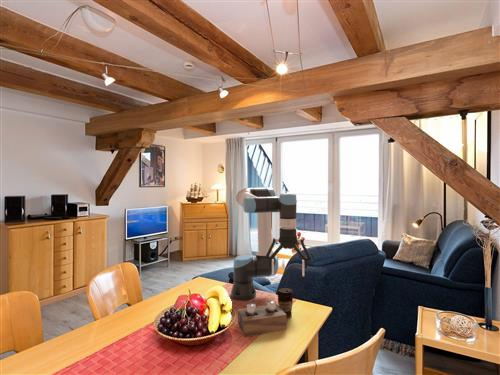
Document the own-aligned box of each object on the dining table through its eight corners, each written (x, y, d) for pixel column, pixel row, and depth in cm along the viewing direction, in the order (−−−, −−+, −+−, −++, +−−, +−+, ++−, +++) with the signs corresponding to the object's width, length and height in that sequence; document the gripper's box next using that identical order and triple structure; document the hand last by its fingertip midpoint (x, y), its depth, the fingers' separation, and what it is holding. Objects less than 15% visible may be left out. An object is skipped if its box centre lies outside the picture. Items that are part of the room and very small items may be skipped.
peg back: (266, 313, 133) (265, 300, 133) (273, 312, 134) (273, 299, 134) (269, 317, 129) (268, 304, 129) (277, 315, 130) (276, 303, 130)
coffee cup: (294, 319, 136) (294, 293, 136) (277, 319, 136) (277, 293, 136) (292, 311, 145) (292, 286, 145) (276, 311, 145) (276, 286, 145)
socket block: (237, 323, 133) (237, 309, 133) (276, 317, 139) (276, 303, 138) (244, 337, 121) (244, 321, 121) (286, 329, 127) (286, 314, 127)
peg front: (245, 316, 130) (245, 303, 130) (254, 315, 131) (254, 302, 131) (248, 320, 126) (248, 307, 126) (256, 319, 127) (256, 306, 127)
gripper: (259, 228, 122) (259, 276, 123) (317, 229, 119) (317, 278, 120) (260, 225, 130) (261, 270, 130) (315, 226, 126) (315, 273, 127)
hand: (287, 274), depth 125 cm, fingers open, 13 cm apart
